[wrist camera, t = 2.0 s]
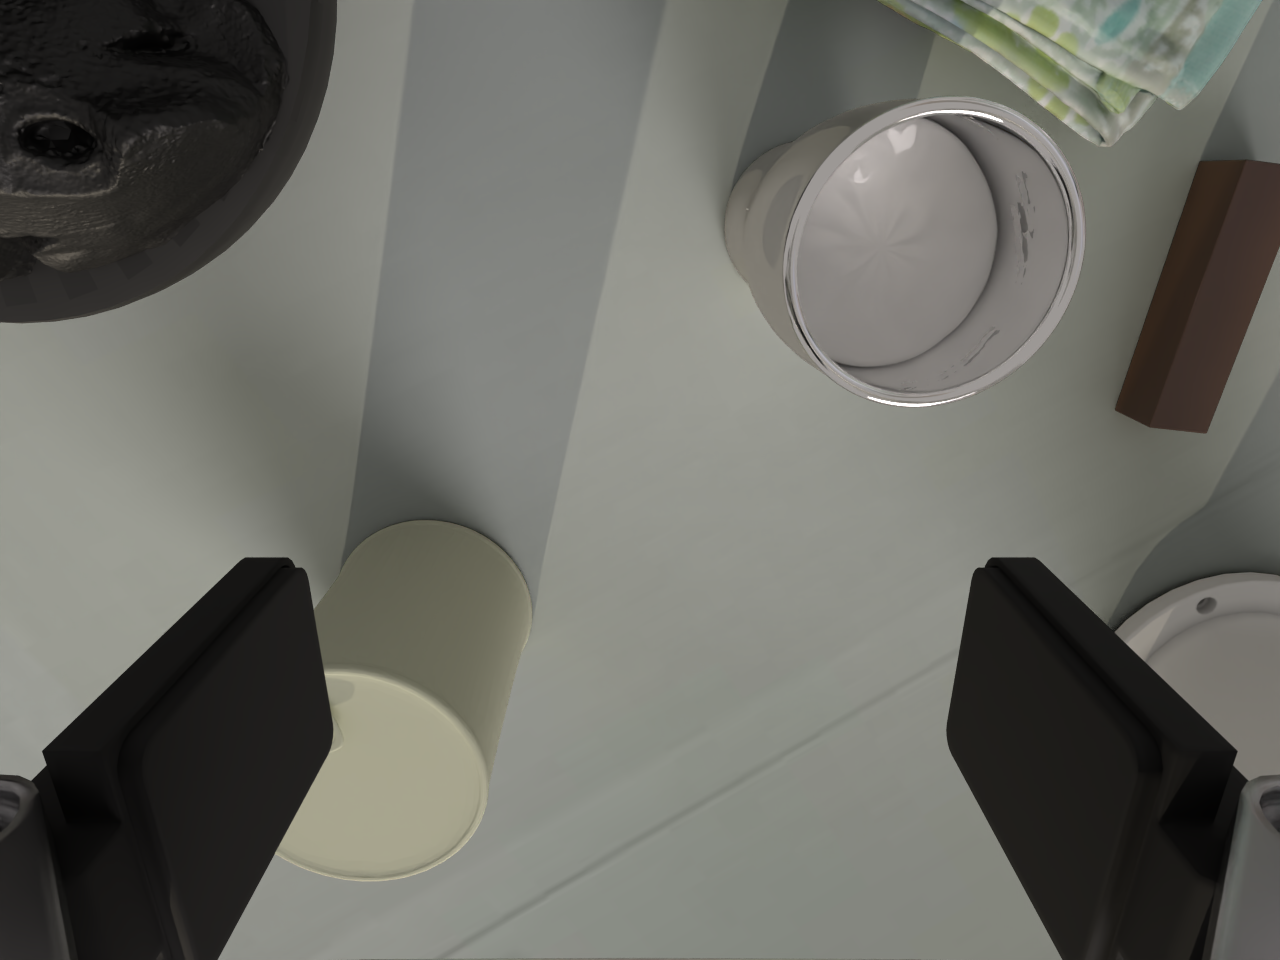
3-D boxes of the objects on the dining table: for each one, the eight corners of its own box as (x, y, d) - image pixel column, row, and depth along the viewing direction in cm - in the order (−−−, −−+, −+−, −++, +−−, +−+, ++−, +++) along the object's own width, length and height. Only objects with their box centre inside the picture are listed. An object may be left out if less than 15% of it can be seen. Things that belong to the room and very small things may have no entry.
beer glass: (842, 89, 29) (1029, 9, 15) (917, 255, 31) (1141, 319, 17) (680, 191, 31) (715, 202, 17) (762, 344, 33) (856, 469, 19)
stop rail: (1259, 168, 30) (1311, 167, 28) (1168, 416, 34) (1207, 434, 32) (1199, 160, 30) (1246, 159, 28) (1114, 410, 34) (1149, 427, 31)
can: (484, 492, 35) (412, 639, 24) (561, 657, 38) (529, 855, 27) (301, 555, 36) (150, 724, 25) (391, 710, 39) (292, 922, 28)
